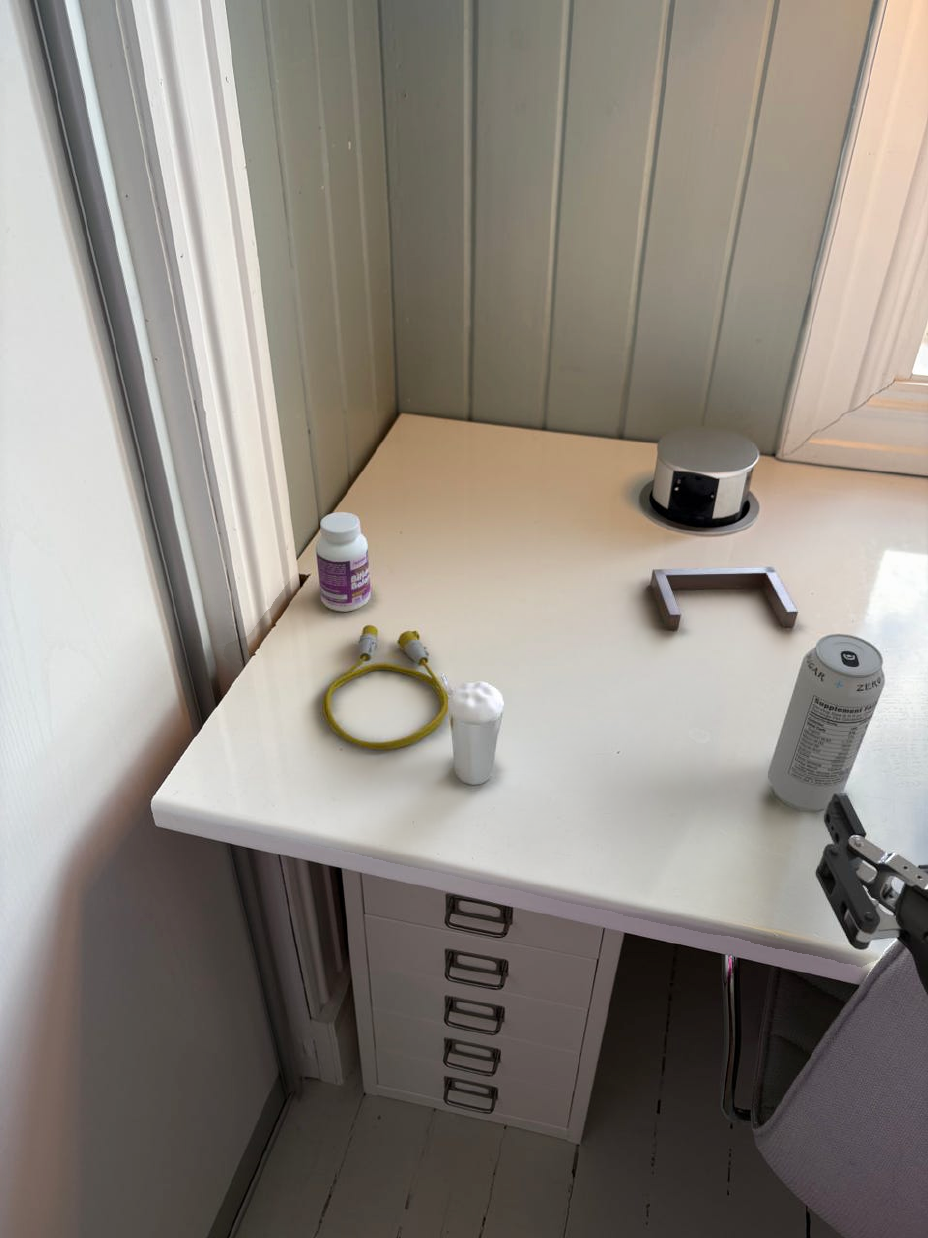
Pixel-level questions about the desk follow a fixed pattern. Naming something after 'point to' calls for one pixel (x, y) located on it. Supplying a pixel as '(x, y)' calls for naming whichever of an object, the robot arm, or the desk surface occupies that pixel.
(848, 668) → the energy drink can
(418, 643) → the extension cord
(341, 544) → the pill bottle
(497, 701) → the milkshake
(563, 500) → the desk surface
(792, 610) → the bay
